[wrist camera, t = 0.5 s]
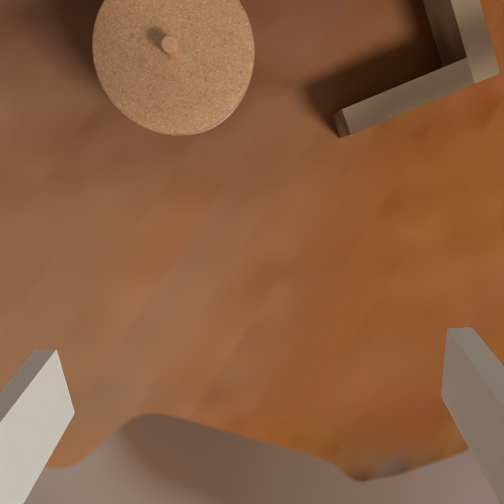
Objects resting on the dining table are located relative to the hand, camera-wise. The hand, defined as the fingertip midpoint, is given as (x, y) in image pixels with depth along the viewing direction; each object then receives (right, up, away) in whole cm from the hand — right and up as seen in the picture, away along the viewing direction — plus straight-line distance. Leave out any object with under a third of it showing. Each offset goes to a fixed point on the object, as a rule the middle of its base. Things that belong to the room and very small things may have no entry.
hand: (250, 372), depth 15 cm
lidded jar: (-5, +19, +22) cm, 29 cm away
